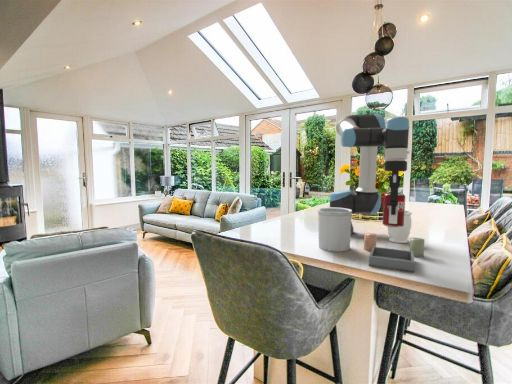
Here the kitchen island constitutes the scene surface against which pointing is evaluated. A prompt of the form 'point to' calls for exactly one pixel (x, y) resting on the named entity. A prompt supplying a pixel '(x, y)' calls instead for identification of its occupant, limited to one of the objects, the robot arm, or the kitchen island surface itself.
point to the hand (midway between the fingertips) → (393, 221)
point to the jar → (401, 230)
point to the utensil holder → (334, 228)
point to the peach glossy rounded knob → (369, 241)
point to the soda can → (399, 215)
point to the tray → (392, 259)
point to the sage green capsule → (417, 247)
